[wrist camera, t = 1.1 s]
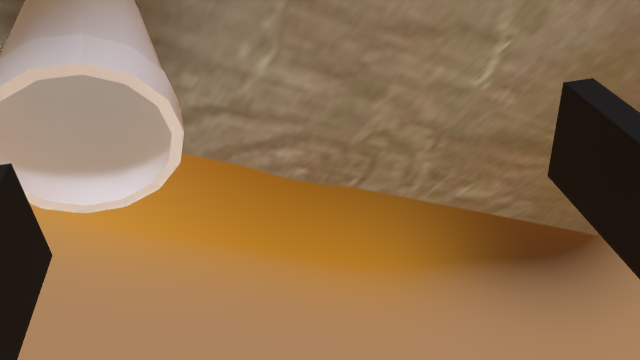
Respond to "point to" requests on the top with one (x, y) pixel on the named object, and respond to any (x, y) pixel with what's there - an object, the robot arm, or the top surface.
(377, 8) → the top surface
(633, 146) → the robot arm
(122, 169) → the foam cup
